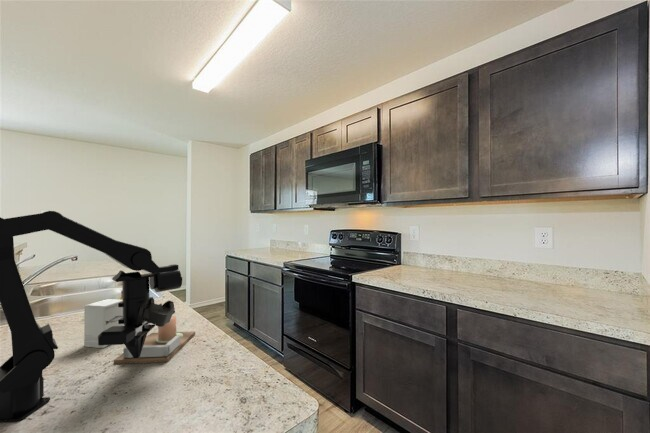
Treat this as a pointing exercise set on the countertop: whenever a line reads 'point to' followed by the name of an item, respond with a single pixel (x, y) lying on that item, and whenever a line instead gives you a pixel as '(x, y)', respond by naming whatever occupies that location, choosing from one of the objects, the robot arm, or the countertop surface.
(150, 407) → the countertop surface
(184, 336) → the board
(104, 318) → the supplement box
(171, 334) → the stub
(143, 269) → the robot arm
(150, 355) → the frame
